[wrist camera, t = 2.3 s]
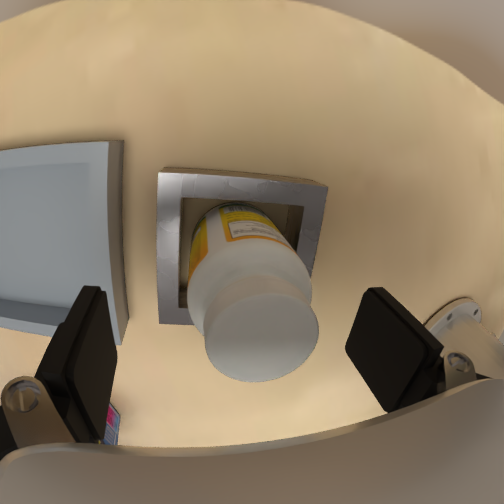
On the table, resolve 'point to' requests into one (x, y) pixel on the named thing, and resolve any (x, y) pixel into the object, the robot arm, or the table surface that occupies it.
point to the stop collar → (228, 188)
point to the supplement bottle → (249, 295)
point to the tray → (60, 233)
